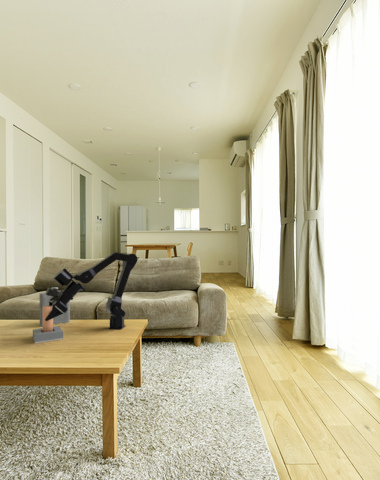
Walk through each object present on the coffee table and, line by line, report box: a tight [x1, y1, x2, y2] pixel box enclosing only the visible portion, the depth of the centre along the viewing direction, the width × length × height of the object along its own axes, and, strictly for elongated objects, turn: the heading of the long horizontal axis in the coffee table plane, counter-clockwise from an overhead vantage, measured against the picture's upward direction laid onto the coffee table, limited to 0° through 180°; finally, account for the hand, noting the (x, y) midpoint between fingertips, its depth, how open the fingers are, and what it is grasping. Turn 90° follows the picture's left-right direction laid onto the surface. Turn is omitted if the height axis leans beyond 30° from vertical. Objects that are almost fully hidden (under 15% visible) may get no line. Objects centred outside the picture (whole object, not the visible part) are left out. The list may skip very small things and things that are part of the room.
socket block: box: [32, 325, 64, 344], centre depth 143 cm, size 12×12×4 cm
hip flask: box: [39, 286, 71, 328], centre depth 171 cm, size 16×4×20 cm, turn 132°
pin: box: [42, 306, 54, 332], centre depth 144 cm, size 4×4×14 cm
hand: (44, 318), depth 143 cm, fingers open, 9 cm apart
